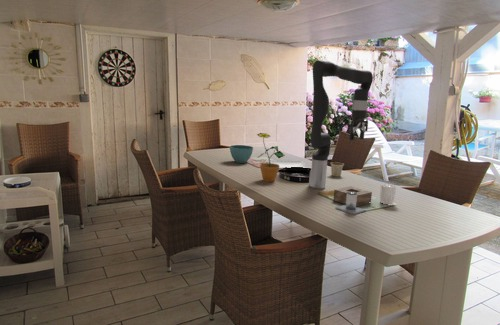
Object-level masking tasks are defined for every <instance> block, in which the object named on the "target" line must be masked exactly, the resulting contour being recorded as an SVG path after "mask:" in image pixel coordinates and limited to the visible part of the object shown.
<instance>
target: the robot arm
mask: <svg viewBox="0 0 500 325" xmlns="http://www.w3.org/2000/svg"><path fill="white" fill-rule="evenodd" d="M327 77H336V78H339V79H340V80H343V81H348V82H351V83H353V84H357V85H360V86H359V88H357V89H355V90H354V92H353V102H352V108H351V109H352V110H351V118H352V120H351V119H349V120H348V123H347V128H346V129H347V130H346V131H347V133H349V140H350V141H354V140H355V132H356V131H357V130H359V140H364V139H365V133H366V132H368V130H369V129H368V128H369V120H368V119H367V113H368V98H369V92H370V89H371V87H372V84H373V82H374V81H373V80H374V75H373V73H372V71H370V70H365V69H364V70H363V69H356V68H353V67H349V66H342V65H339V64H336V63H334V62H332V61H329V60H323V59H322V60H321V59H317V60H315V61H314V62H313V66H312V82H313V96H312V97H313V98H312V99H313V100H312V124H311V132H310V145H311V147H312V148H313V149H318V150H316V152H314V153H313V154H312V155H311V169H310V170H309V180H308V186H309V187H311V188H313V189H318V190H320V189H325V188H326V182H327V181H326V180H327V170H328V158H329V156H330V150H331V143H332V142H331V141H332V139H331V136H330V134H329V133H327V132H322V126H323V123H324V121H325V119H326V117H327V116H328V114H329V110H330V109H329V107H330V98H329V96H328V93H327V91H326V89H325V86H324V80H323V79H324V78H327Z"/></svg>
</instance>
